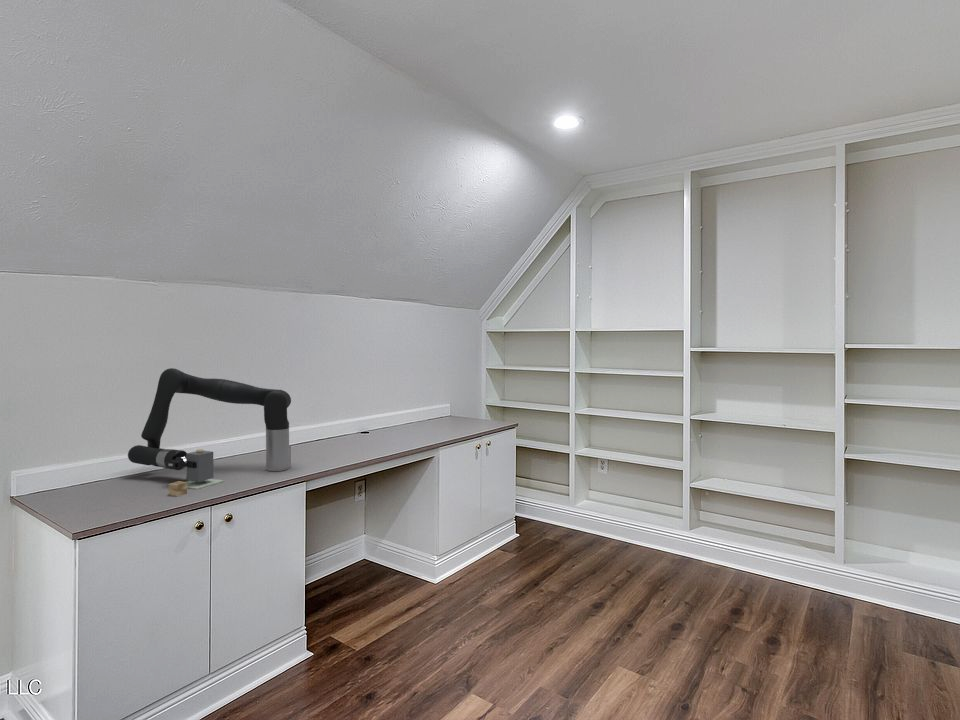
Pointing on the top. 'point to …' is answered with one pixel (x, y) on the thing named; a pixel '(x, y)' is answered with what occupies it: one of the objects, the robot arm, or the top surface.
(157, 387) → the robot arm
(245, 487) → the top surface
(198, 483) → the mat
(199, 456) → the cover
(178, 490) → the block
